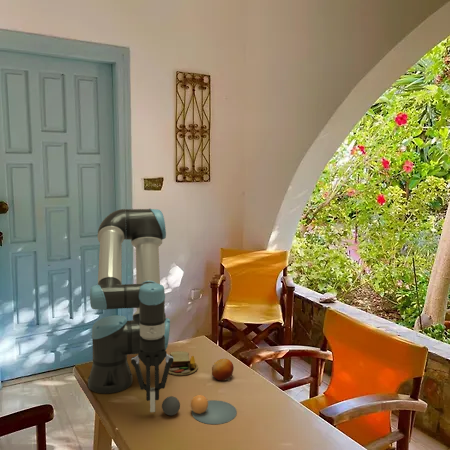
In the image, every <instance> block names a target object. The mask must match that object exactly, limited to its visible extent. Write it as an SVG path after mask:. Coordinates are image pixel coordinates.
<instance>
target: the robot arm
mask: <svg viewBox="0 0 450 450" xmlns="http://www.w3.org/2000/svg"><path fill="white" fill-rule="evenodd" d="M166 237H167V230H166V221H165V217H164V214H163V211H162V210H160V209H157V208H156V209H155V208H135V209H134V208H132V209H131V208H128V209H126V208H122V209H117V210H114V211H112V212H111V213H110V214H108V215H107V216H106V217H105V218H104V219H103V220H102V221H101V223H100V225H99V227H98V230H97V240H98V243H99V257H98V270H97V271H98V274H97V284H96V285H92V286H91V287H90V288H89V289H90V291H89V306H90V308H91V309H92V310H95V311H97V310H98V311H99V310H102V311H103V310H104V311H105V310H106V311H107V310H117V309H119V310H121V309H136V311H135V312H134V313H133V314H132V319H131V320H128V319H127V317H126V316H124V315H120V314H115V315H109V316H105V317H101V318H100V319H98V320H97V321H95V323H93V325H92V328H91V329H92V330H91V334H92V335H91V339H92V340H91V341H92V342H91V343H92V366H91V369H90V373H89V376H88V379H87V387H88V389H89V390H90V391H92V392H94V393H98V394H113V393H118V392H122V391H124V390H127V389H128V388H130V387H131V386H132V384H133V373H132V372H131V371H132V370H131V368H130V365H129V362H128V355H129V356H130V355H136V356H132V357H131V359H130V364H131V365H132V366H133V368H134V371H135V375H136V378H137V383H138V385H139V389H140V390H141V391H143V390H144V391H145V394H146V396H145V400H146V401H147V402H149V407H150V408H149V413H155V412H156V401H159V399H160V390H163V389H165V388H166V384H167V380H168V377H169V373H168V372H169V368H170V365H171V364H172V362H173V356H172V355H171V356H170V354H168V353H167V349H168V346H169V340H170V329H171V319H170V318H168V317H166V312H165V311H166V310H165V309H166V308H165V306H166V304H165V303H166V301H165V300H166V293H165V291H166V290H165V287H164V285H162V284H161V275H160V274H161V273H160V272H161V271H160V248H159V247H160V246H161V245H162V244H163V240H164V239H166ZM124 240H125V241H126V240H129V241H130V240H131V243H130V244H131V246H133V247H134V248H135V273H136V274H135V275H136V276H135V277H136V280H135V281H136V283H128V284H127V283H125V284H123V283H122V282H123V281H122V278H123V277H122V276H123V275H122V272H123V270H122V264H123V263H122V262H123V261H122V256H123V255H122V253H123V251H122V246H123V245H122V244H123V242H124ZM140 361H141V362H142V364H143V365H144V366H145V380H144V377H143V372H142V371H141V365H140ZM163 361H165V364H164V369H163V373H162V377H161V382H160V380H159V379H160V369H159V368H160V365H161V364H162V362H163ZM151 367H154V387H151Z"/></svg>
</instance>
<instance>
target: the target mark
mask: <svg viewBox="0 0 450 450" xmlns="http://www.w3.org/2000/svg"><path fill="white" fill-rule="evenodd" d="M207 401H208V408H207V410H206V411H205V412H204V413H201V414H197V413H195V412H193V411H192V410H191V416H192V417H193V418H194V420H195V421H198V422H200V423H202V424H207V425H222V424H227V423H228V422H231V421H232V420H234V419H235V418H236V416H237V412H238V411H237V409H236V407H235V406H234V405H232V404H231V403H230V402H226V401H223V400H217V399H216V400H213V399H211V400H207Z"/></svg>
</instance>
